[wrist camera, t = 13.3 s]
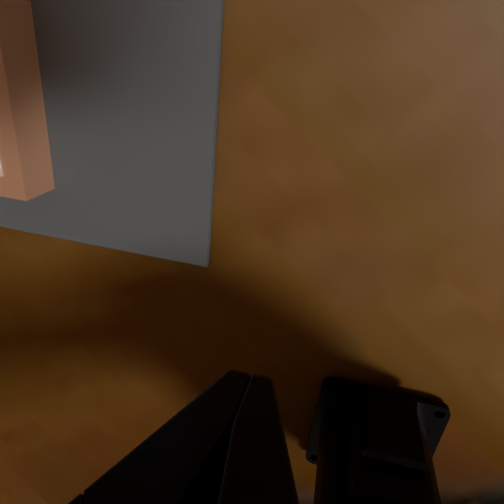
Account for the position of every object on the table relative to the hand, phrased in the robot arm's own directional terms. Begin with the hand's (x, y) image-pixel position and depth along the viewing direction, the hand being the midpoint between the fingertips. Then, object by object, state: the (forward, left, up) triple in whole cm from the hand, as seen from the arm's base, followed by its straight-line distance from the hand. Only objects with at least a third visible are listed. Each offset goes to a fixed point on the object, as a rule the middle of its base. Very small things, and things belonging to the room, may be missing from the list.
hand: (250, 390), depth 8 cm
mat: (+3, +12, -12) cm, 17 cm away
